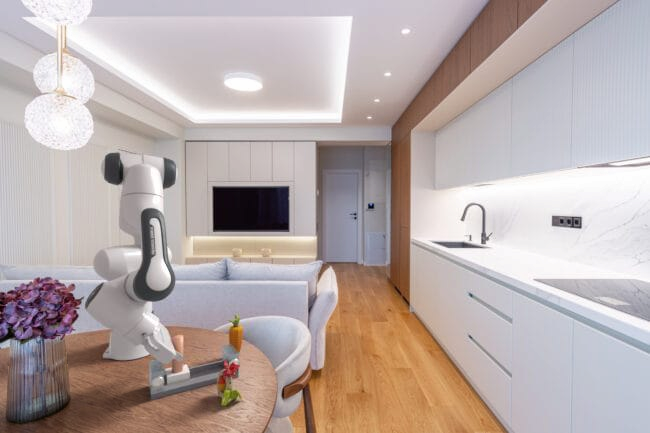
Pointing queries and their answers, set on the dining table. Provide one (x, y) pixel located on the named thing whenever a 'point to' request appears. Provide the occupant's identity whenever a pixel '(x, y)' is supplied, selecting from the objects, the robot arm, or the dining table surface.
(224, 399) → the decorative toy figure
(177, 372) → the carriage
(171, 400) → the dining table surface
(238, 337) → the carrot
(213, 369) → the rail track
